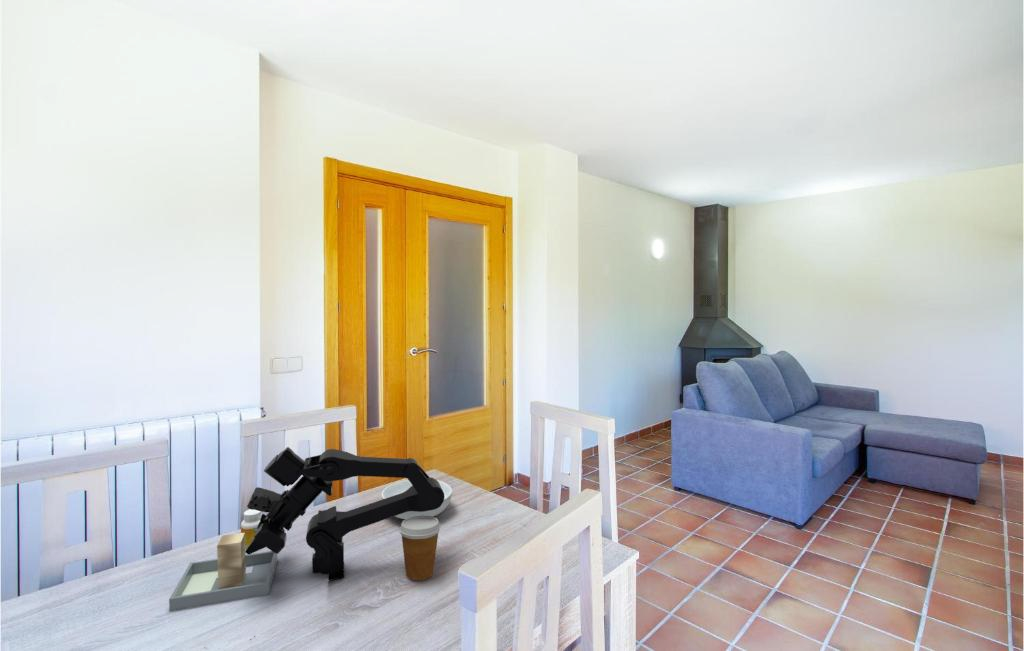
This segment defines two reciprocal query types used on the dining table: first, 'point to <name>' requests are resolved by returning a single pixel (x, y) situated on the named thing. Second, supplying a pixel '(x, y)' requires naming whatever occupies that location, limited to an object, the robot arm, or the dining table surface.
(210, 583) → the box
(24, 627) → the dining table surface
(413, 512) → the serving bowl
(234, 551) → the maple post
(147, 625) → the dining table surface
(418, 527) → the disposable coffee cup
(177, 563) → the dining table surface
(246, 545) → the supplement bottle
